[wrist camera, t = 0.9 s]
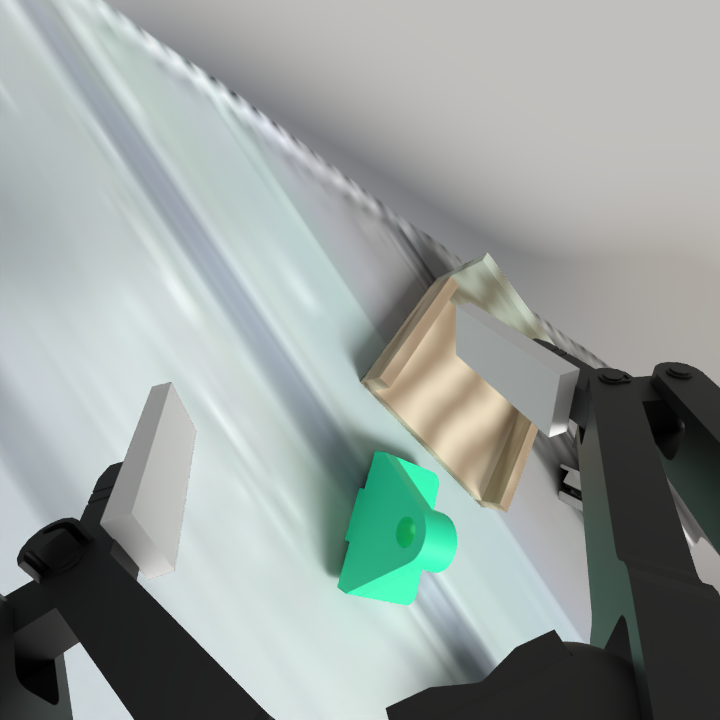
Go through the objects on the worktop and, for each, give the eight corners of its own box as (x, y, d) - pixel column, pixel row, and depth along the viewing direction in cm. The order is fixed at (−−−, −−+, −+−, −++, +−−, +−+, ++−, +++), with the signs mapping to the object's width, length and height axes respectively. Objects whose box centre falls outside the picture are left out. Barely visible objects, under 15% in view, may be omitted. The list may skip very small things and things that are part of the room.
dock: (360, 381, 37) (410, 370, 30) (435, 279, 45) (487, 252, 39) (481, 506, 43) (546, 520, 36) (528, 395, 52) (586, 389, 45)
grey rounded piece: (616, 486, 60) (690, 519, 51) (605, 513, 60) (678, 550, 51) (559, 463, 53) (634, 496, 44) (547, 493, 53) (619, 532, 44)
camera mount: (396, 595, 35) (481, 648, 26) (331, 582, 32) (404, 637, 23) (423, 473, 39) (504, 484, 31) (368, 450, 36) (442, 455, 28)
